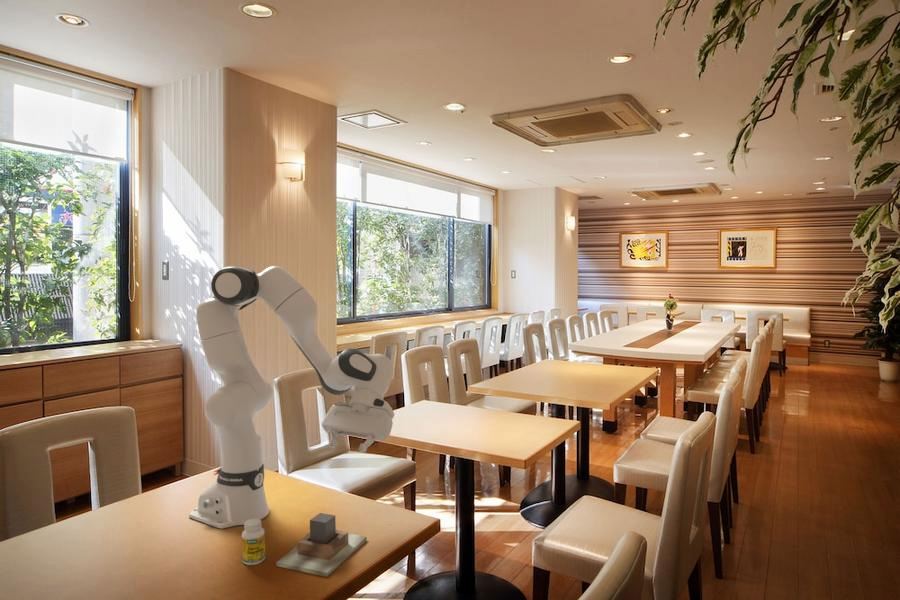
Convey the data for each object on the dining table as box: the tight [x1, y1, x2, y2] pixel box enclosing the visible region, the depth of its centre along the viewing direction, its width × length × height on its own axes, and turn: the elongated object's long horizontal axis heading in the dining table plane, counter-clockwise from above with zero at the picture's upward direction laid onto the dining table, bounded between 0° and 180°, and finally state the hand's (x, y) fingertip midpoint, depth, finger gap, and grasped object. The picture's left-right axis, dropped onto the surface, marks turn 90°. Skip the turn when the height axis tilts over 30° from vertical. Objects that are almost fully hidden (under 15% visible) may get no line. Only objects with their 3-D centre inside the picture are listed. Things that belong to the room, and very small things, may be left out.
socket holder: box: [275, 529, 367, 578], centre depth 145 cm, size 14×19×4 cm
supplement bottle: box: [241, 519, 266, 566], centre depth 141 cm, size 5×5×10 cm
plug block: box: [309, 512, 337, 544], centre depth 145 cm, size 4×4×8 cm
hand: (346, 448), depth 157 cm, fingers open, 8 cm apart
